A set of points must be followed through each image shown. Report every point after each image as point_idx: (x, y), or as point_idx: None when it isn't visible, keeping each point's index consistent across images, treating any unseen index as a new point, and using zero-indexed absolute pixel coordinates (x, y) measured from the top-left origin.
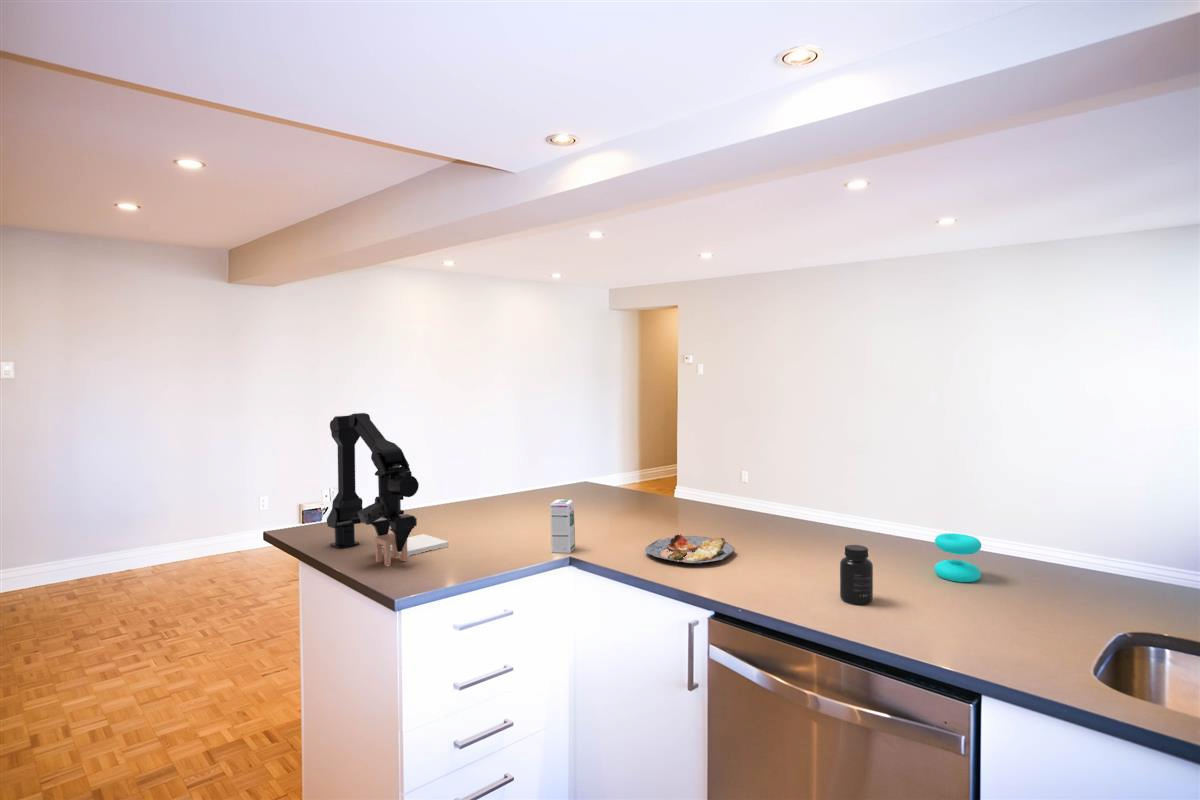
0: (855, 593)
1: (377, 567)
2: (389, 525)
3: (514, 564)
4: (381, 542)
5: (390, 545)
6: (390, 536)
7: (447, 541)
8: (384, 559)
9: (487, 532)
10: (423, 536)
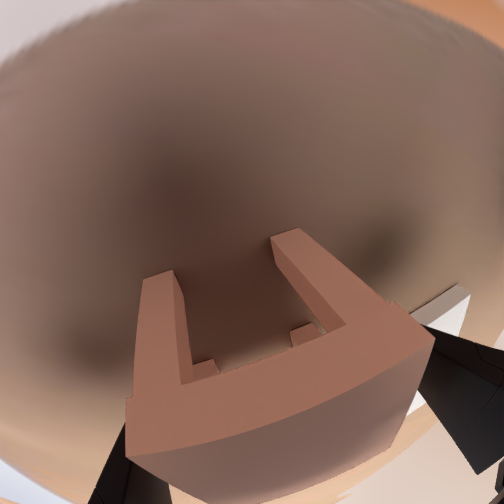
0: None
1: (148, 218)
2: (458, 445)
3: (71, 495)
4: (238, 393)
5: (431, 325)
6: (312, 461)
7: None
8: (169, 294)
9: (344, 473)
10: (416, 403)
